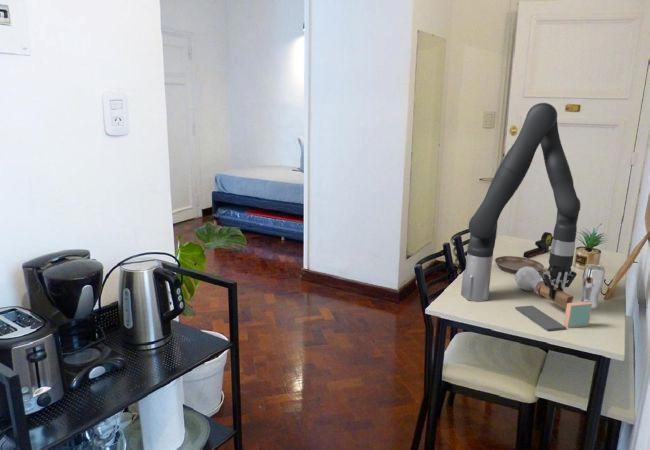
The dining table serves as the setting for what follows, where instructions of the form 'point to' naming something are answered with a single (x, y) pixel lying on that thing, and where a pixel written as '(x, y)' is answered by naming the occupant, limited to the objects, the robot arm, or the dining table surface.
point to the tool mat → (540, 318)
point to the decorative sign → (540, 246)
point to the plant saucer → (517, 264)
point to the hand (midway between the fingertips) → (555, 298)
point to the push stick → (556, 296)
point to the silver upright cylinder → (592, 283)
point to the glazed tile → (577, 314)
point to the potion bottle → (529, 279)
